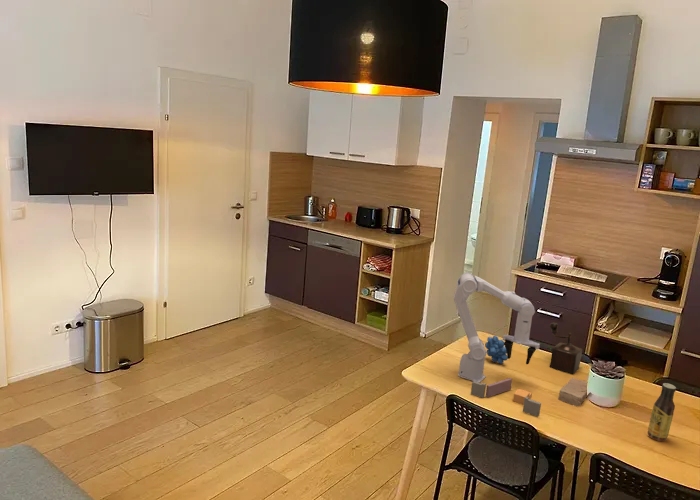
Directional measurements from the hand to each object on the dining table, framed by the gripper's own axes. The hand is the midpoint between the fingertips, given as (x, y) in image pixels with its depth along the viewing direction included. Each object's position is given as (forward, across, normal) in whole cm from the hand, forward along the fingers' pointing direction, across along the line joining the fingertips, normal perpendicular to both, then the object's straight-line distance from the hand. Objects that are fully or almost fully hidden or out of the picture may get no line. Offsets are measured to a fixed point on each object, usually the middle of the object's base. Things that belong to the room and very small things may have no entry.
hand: (518, 360), depth 224 cm
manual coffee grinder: (+10, +10, +31) cm, 34 cm away
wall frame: (+9, +3, -22) cm, 25 cm away
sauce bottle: (+10, +53, -9) cm, 55 cm away
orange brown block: (+10, +7, -13) cm, 18 cm away
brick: (+10, +23, +4) cm, 25 cm away
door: (+9, -2, -15) cm, 18 cm away
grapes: (+10, -14, +13) cm, 21 cm away
